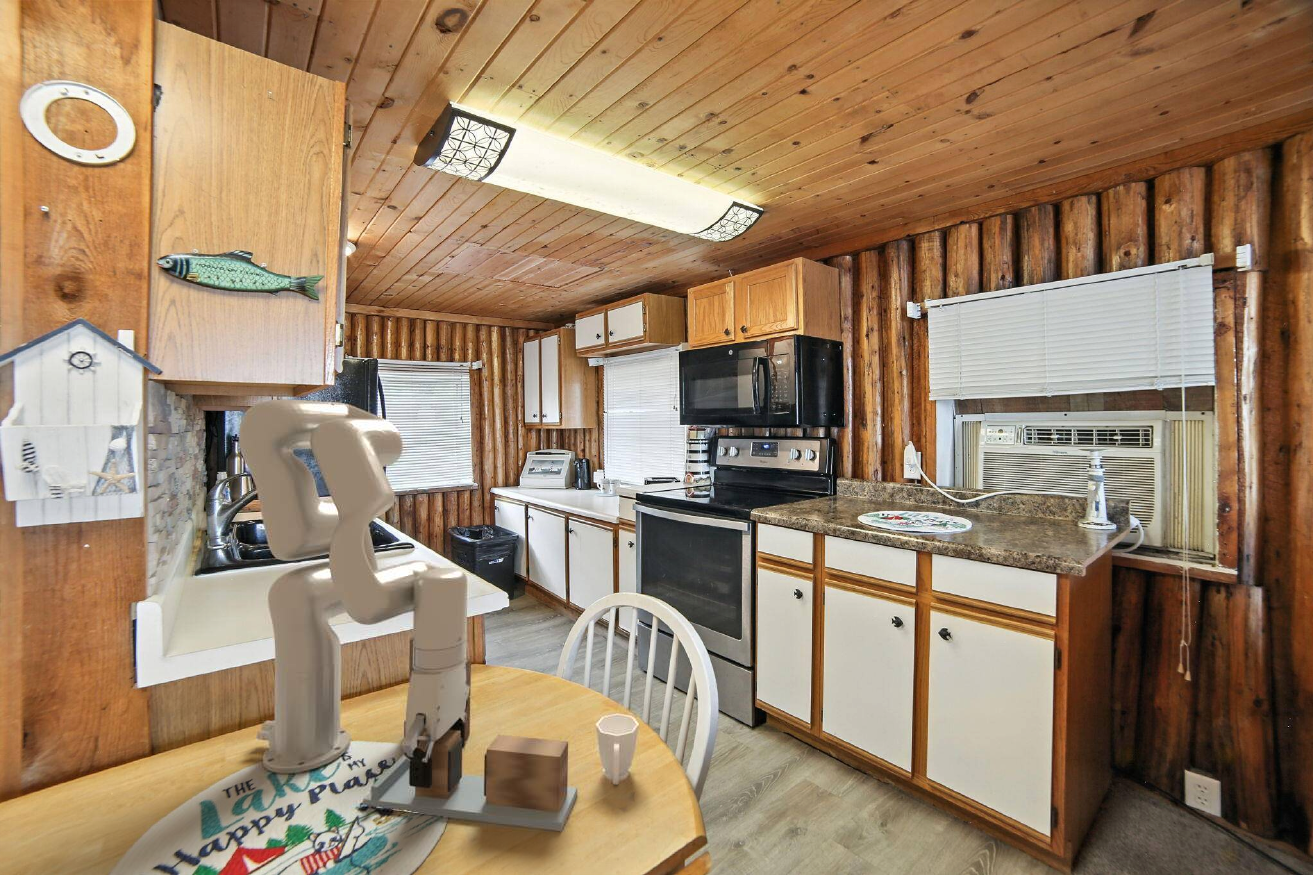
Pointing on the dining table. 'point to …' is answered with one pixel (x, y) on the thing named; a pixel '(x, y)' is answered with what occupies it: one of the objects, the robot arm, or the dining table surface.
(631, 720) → the cup
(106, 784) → the dining table surface
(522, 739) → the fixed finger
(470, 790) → the rail
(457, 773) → the brown rectangular block
